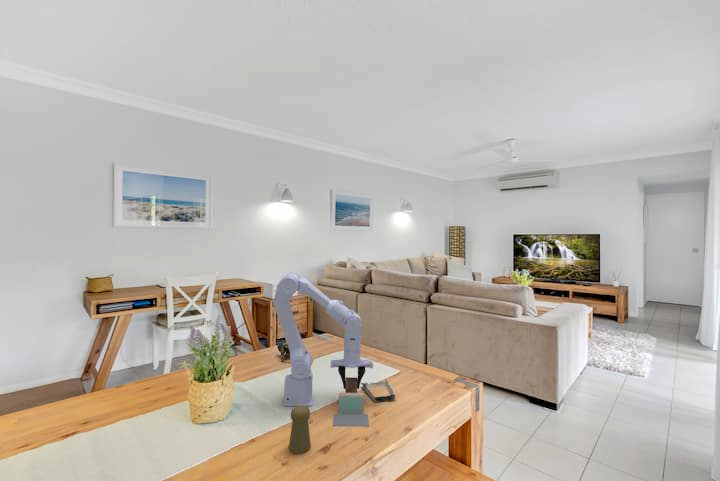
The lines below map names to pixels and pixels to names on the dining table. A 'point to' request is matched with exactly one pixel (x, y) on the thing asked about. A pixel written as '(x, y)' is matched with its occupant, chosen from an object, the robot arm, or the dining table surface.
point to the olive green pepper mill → (300, 430)
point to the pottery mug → (283, 349)
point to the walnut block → (351, 385)
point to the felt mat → (350, 420)
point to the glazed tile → (351, 402)
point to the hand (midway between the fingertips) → (351, 387)
